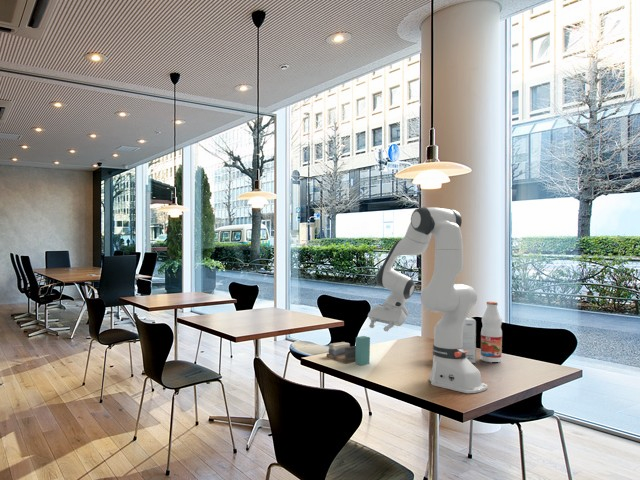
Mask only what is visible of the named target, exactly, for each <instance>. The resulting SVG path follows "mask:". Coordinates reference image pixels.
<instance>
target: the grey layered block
mask: <svg viewBox="0 0 640 480" xmlns="http://www.w3.org/2000/svg"><path fill="white" fill-rule="evenodd" d="M355 357H356V345H353V346H351V343H349V342H345V341H341V342H333V343H329V344H328V353H326V358H328V359H332V360H334V361H337V362H341V363H343V364H350V363H355Z"/></svg>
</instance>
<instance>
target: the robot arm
mask: <svg viewBox="0 0 640 480" xmlns="http://www.w3.org/2000/svg"><path fill="white" fill-rule="evenodd" d="M410 216H411V217H410V222H409V225H408V227H407V229H406V232H405V235H404V237H403V238H402V239H398V240H396V242H395V243H394V244H393V246H392V247H391V249H390V250H389V252H388V254H387V256H386V258H385V259H384V262H383V263H382V265H381V266H380V268H379V269H378V271H377V273H376V275H375V281H376V284H377V285H378V286H379V287H382V288H384V289H387V290H388V291H391V294H389V295H388V296H387V297H386V300H385V301H383V304H380V303H379V304H377V305H374V306H373V307H372V309H371V310H370V311H369V312H368V314H367V317H368V319H369V320H370V322H369V325H368V326H369V328H370V329H374V327H375V326H376V325H375V324H376V323H377V322H378V323H383V324H387V325H384V327H383V331H384V332H389V331H390V330H391V329H392V328H394V326H396V327H401V326H402V325H403V324H404V323H405V321H406V319H407V316H408V315H409V314H410V312H409V310H408V309H407V307H406V306H405V305H406V303H408V301H409V299H410V298H411V297H412V295H413V294H414V292H415V289H416V283H415V282H414V279H413V278H411V277H409V276H408V275H406V274H404V273H401V272H400V271H398V270H395V269H394V268H393V266H394V265H395V262H396V261H397V259H398V257H399V256H418V255H422V254H424V253H425V252H426V251H427V249H428V247H429V245H430V242H431V239H432V236H433V238H434V268H433V273H432V277H431V279H430V282H429V283H428V284H427V285H426V287H424V288H423V289H422V292H421V294H420V302H421V305H422V306H423V308H424V309H425V310H426V311H428V312H433V313H442V315H441V317H440V318H441V319H439V320H438V321H437V322H436V323H435V325H434V328H433V329H434V331H433V336H434V337H433V341H434V342H433V345H432V356H433V359H432V368H431V371H430V375H429V378H428V380H429V381H430V384H431V385H432V386H435V387H438V388H443V389H447V390H452V391H456V392H460V393H464V394H476V393H482V392H484V391H486V390H487V389H488V384H486V383H484V382H482V376H481V374H482V373H481V372H480V370H479V369H478V368H477V367H476V366H475V365H474V363H471V362H470V361H469V360H468V359H467V358H466V354H468V353H467V352H468V351H465V350H464V348H463V328H464V324H465V320H466V318H468V315H469V313H470V311H471V310H472V309H473V308H474V307H475V305H476V304H477V301H478V298H477V297H478V296H477V292H476V290H475V289H474V288H473V286H471V285H467V284H464V283H455V282H456V279H457V277H458V275H459V274H460V273H462V271H463V269H464V242H463V234H462V229H461V227H462V222H463V221H462V215H461V213H460V212H459V211H457V210H455V209H452V208H443V207H441V208H440V207H438V206H437V207H436V206H435V207H433V206H431V207H425V206H423V207H418V208H416V209H414V210H413V212H412V214H411V215H410Z"/></svg>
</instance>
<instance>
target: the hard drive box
mask: <svg viewBox="0 0 640 480" xmlns="http://www.w3.org/2000/svg"><path fill="white" fill-rule="evenodd" d="M440 319H441V317H440ZM440 319H439V320H440ZM476 342H477V321H476V319H474V318H473V317H467V318H466V320H465V324H464V328H463V348H464V350H465V351H468V352H467V353H468V354H466V358H467V359H468V360H469V361H470V362H471V363H472V364H476V363H477V360H476V359H477V354H476V353H477V351H476V350H477V343H476Z"/></svg>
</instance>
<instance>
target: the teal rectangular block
mask: <svg viewBox="0 0 640 480" xmlns="http://www.w3.org/2000/svg"><path fill="white" fill-rule="evenodd" d="M355 346H356V357H355V362H354V364H356V365H359V366H361V365H362V366H366V365H370V353H371V351H370V350H371V349H370V348H371V337H369V336H365V335H362V336H355Z"/></svg>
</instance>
